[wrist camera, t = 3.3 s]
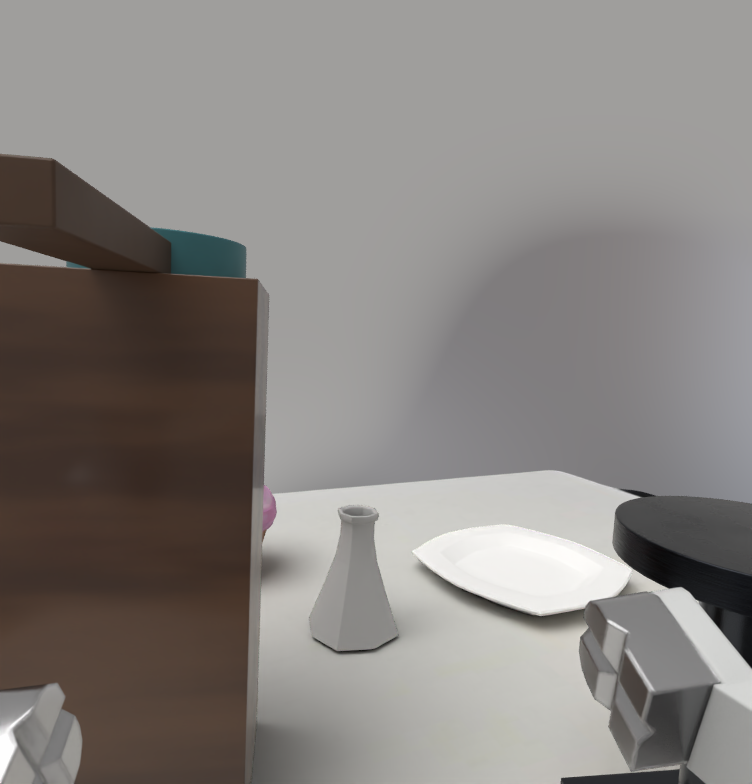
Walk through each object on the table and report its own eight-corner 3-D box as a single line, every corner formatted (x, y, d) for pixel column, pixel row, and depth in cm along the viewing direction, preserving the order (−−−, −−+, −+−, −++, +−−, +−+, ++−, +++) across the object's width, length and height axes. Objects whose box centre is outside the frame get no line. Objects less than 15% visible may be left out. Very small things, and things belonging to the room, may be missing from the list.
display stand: (956, 1017, 21) (1031, 590, 19) (686, 1059, 19) (742, 596, 18) (730, 782, 32) (764, 496, 30) (545, 796, 30) (571, 495, 28)
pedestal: (242, 878, 25) (258, 278, 22) (-6, 900, 23) (-20, 261, 21) (257, 722, 35) (269, 294, 32) (83, 731, 33) (81, 283, 30)
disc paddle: (186, 238, 13) (188, 146, 12) (-222, 209, 11) (-228, 106, 11) (251, 293, 32) (252, 257, 32) (101, 284, 31) (100, 247, 30)
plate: (546, 652, 44) (548, 628, 44) (386, 566, 59) (387, 548, 59) (658, 590, 56) (660, 571, 56) (502, 532, 71) (503, 516, 71)
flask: (330, 664, 41) (336, 531, 40) (294, 618, 47) (298, 502, 46) (414, 641, 45) (421, 519, 44) (370, 601, 51) (375, 493, 50)
